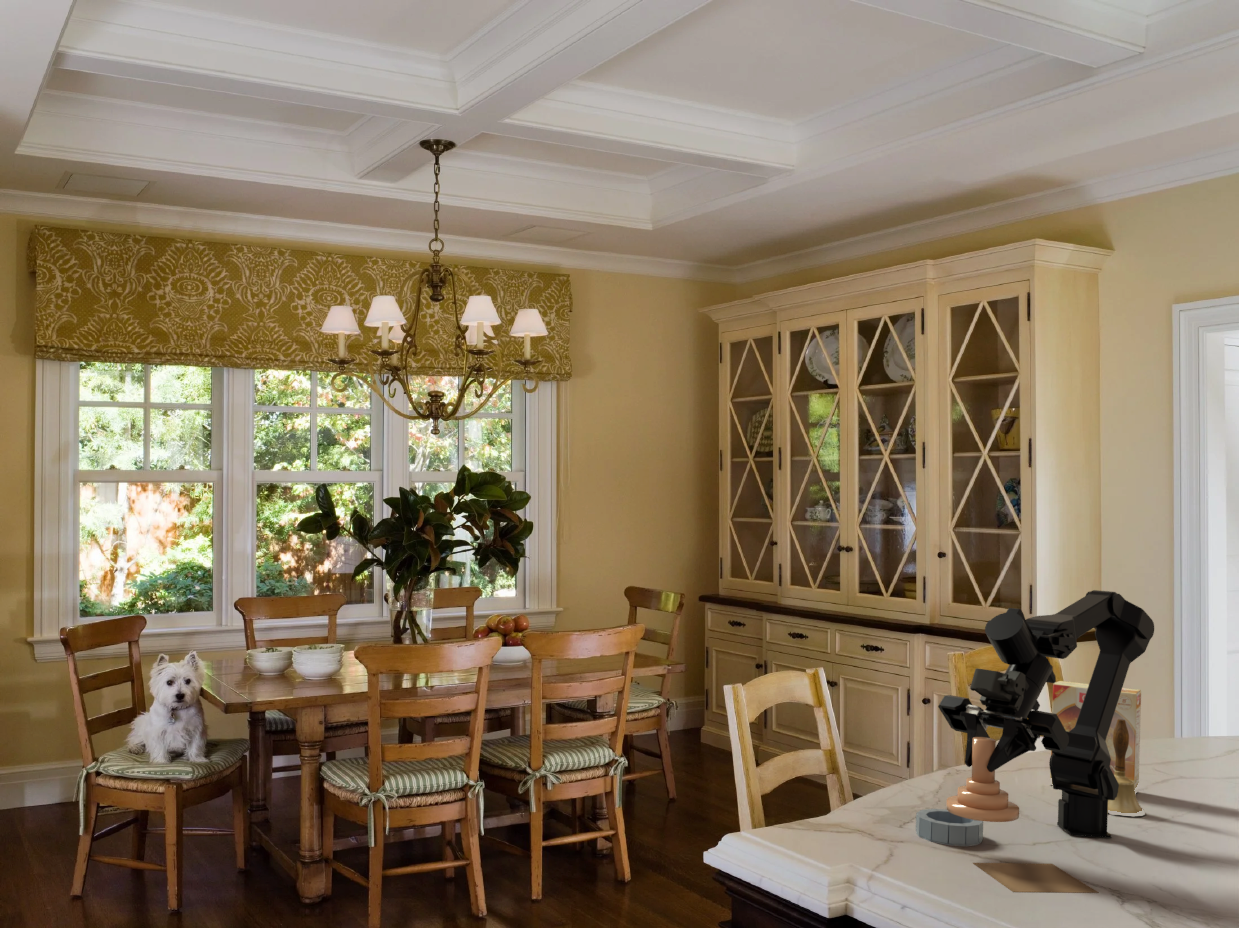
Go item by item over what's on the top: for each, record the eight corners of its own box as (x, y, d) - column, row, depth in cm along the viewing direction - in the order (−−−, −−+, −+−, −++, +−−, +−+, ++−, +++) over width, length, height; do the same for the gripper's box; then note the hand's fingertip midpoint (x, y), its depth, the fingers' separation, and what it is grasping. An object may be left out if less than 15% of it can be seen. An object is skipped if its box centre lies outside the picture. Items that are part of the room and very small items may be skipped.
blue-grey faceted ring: (972, 833, 172) (972, 811, 172) (989, 851, 162) (990, 827, 162) (910, 829, 172) (911, 807, 172) (924, 847, 163) (925, 823, 163)
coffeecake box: (1049, 785, 209) (1051, 683, 210) (1055, 779, 215) (1058, 679, 216) (1134, 799, 201) (1137, 692, 202) (1139, 792, 207) (1141, 688, 208)
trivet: (1052, 868, 155) (1052, 863, 155) (1099, 897, 143) (1099, 892, 144) (972, 867, 154) (972, 862, 154) (1012, 896, 142) (1013, 891, 142)
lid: (1018, 808, 161) (1020, 736, 161) (1019, 825, 151) (1020, 749, 152) (948, 799, 164) (950, 729, 165) (944, 816, 155) (946, 741, 155)
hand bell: (1084, 804, 195) (1087, 714, 196) (1129, 806, 195) (1131, 716, 196) (1109, 817, 186) (1111, 723, 187) (1155, 818, 187) (1157, 725, 188)
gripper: (946, 642, 169) (901, 720, 161) (1060, 657, 154) (1015, 744, 147) (974, 689, 173) (931, 767, 166) (1087, 708, 159) (1045, 795, 151)
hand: (977, 767), depth 157 cm, fingers closed on lid, 3 cm apart
